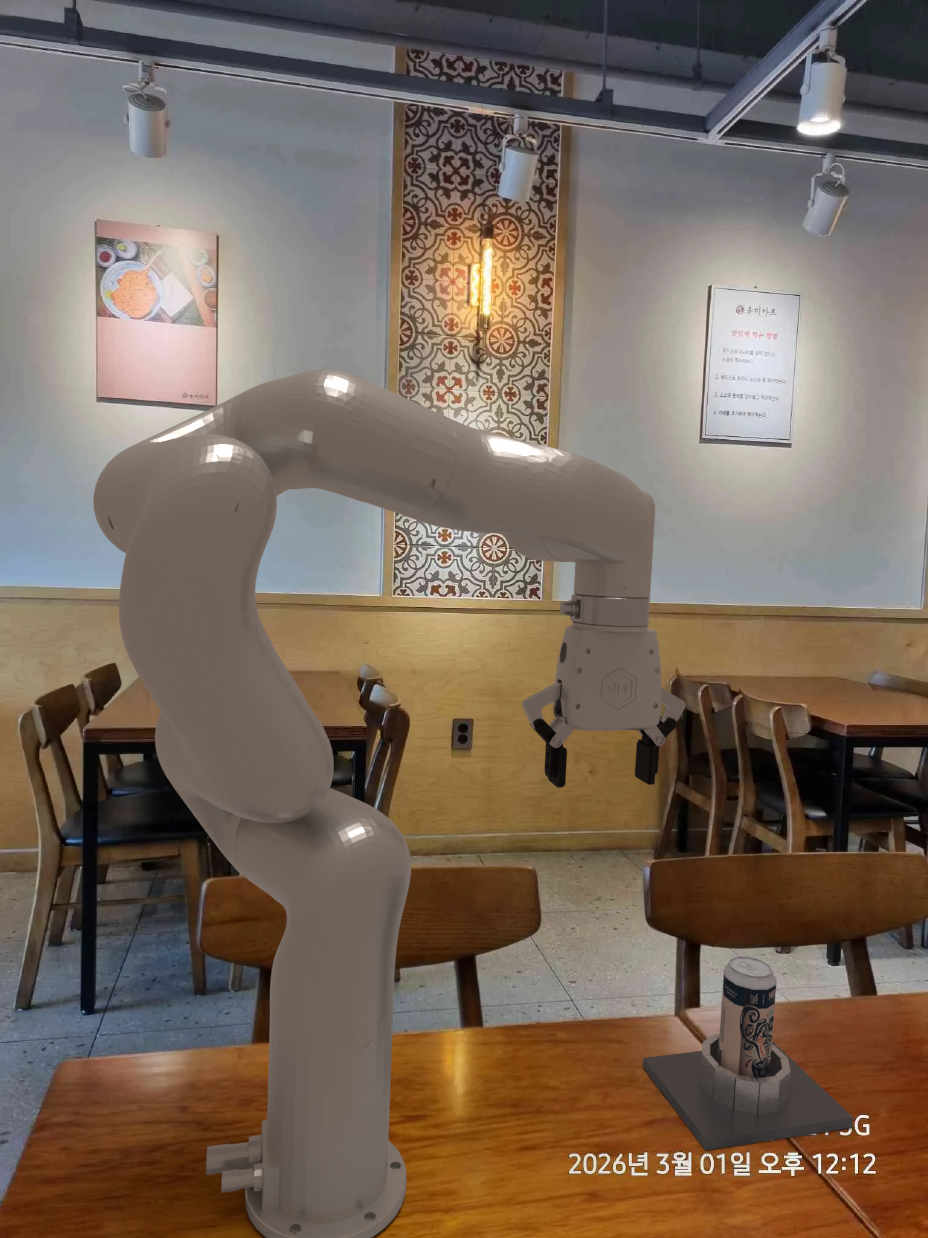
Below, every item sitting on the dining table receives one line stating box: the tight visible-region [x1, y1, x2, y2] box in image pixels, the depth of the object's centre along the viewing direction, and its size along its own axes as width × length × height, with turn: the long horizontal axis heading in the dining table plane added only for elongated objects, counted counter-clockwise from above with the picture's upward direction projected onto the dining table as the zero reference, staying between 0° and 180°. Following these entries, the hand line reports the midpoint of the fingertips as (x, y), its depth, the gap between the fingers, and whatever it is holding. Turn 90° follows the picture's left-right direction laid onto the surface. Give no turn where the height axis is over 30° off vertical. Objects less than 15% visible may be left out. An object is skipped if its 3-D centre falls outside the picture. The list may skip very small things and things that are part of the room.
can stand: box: [642, 1033, 854, 1152], centre depth 80 cm, size 15×12×4 cm
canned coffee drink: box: [718, 956, 777, 1078], centre depth 80 cm, size 5×5×12 cm
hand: (600, 782), depth 85 cm, fingers open, 9 cm apart
